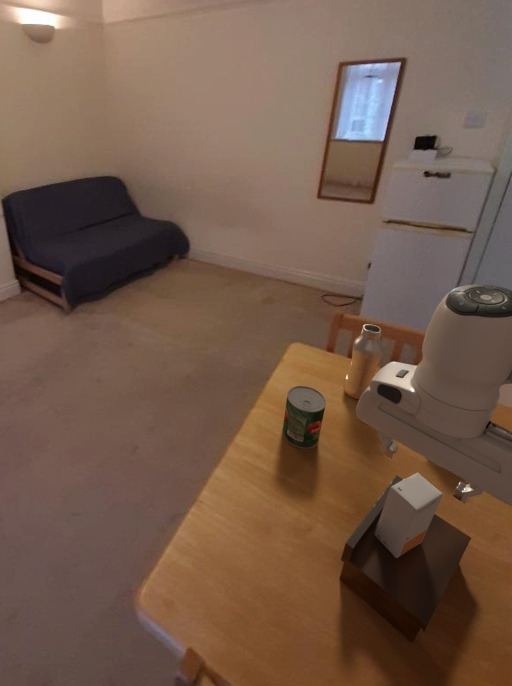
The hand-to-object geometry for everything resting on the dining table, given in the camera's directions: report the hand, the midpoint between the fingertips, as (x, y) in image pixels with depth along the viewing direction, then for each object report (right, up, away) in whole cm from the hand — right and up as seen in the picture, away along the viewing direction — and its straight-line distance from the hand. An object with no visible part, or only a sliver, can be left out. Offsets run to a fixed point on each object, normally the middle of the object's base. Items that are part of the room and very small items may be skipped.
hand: (422, 474), depth 59 cm
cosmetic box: (0, -14, +6) cm, 15 cm away
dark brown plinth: (+1, -19, +8) cm, 21 cm away
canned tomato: (-6, -8, +33) cm, 34 cm away
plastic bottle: (+13, -2, +44) cm, 46 cm away
